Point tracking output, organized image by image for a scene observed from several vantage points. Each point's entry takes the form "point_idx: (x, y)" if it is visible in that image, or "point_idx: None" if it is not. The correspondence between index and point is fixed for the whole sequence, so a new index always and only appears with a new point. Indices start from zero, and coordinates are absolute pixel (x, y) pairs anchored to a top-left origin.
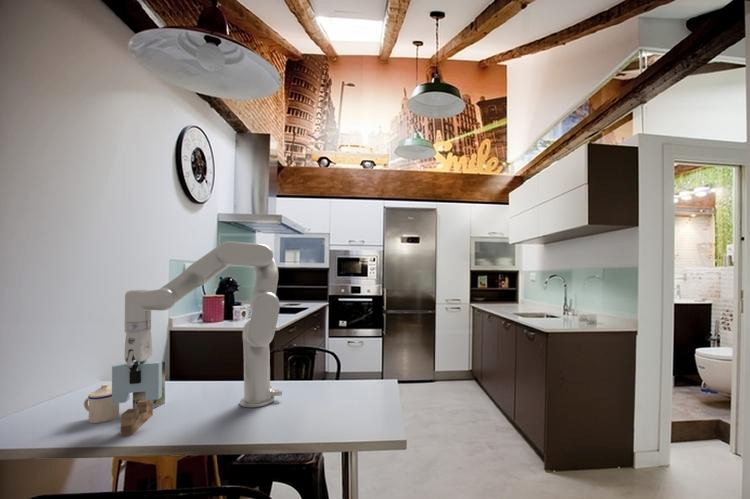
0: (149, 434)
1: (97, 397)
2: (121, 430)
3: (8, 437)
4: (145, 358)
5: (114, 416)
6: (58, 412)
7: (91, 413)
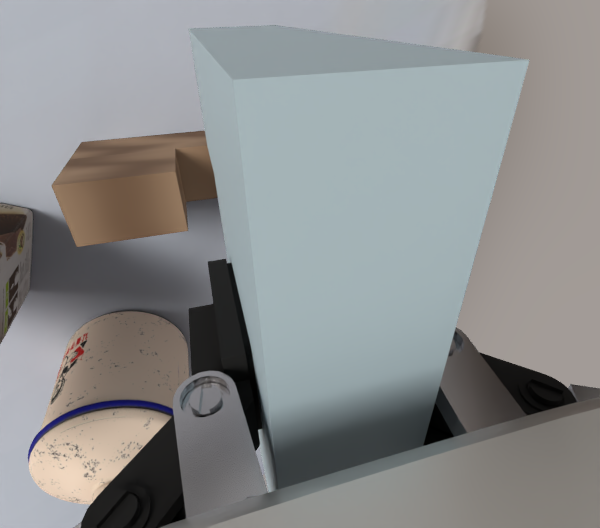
0: (372, 13)
1: None
2: None
3: (262, 472)
4: (517, 455)
5: (139, 316)
6: (69, 516)
7: None
